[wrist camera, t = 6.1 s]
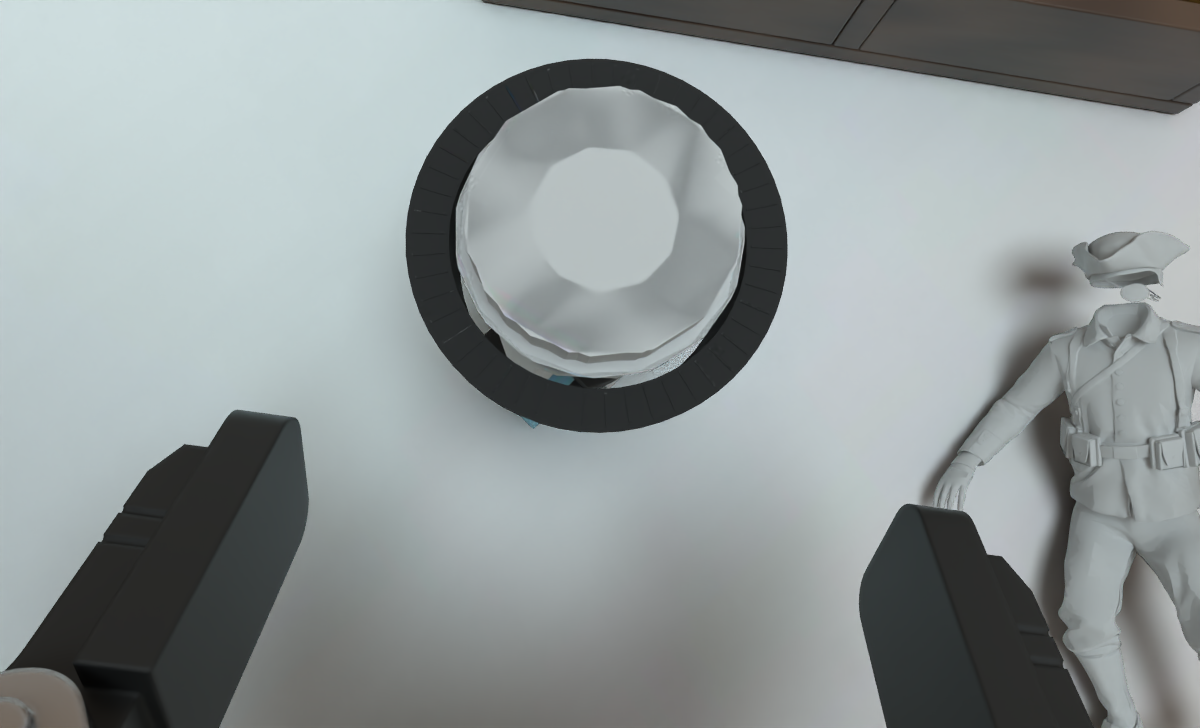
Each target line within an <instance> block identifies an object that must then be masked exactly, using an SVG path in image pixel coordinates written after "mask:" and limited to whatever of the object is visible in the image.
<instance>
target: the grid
mask: <svg viewBox="0 0 1200 728" xmlns="http://www.w3.org/2000/svg"><path fill="white" fill-rule="evenodd" d="M483 1H485V2H491V3H497V4H503V5H509V6H516V7H522V8H528V9H534V10H540V11H546V12H552V13H559V14H565V15H571V16H577V17H583V18H589V19H595V20H602V21H608V22H614V23H620V24H626V25H632V26H638V27H645V28H651V29H657V30H663V31H669V32H675V33H681V34H688V35H694V36H700V37H706V38H712V39H718V40H724V41H731V42H737V43H743V44H749V45H755V46H761V47H767V48H774V49H780V50H786V51H792V52H798V53H804V54H810V55H817V56H823V57H829V58H835V59H841V60H847V61H853V62H860V63H866V64H872V65H878V66H884V67H890V68H897V69H903V70H909V71H915V72H921V73H927V74H933V75H940V76H946V77H952V78H958V79H964V80H970V81H976V82H983V83H989V84H995V85H1001V86H1007V87H1013V88H1019V89H1026V90H1032V91H1038V92H1044V93H1050V94H1056V95H1062V96H1069V97H1075V98H1081V99H1087V100H1093V101H1099V102H1105V103H1112V104H1118V105H1124V106H1130V107H1136V108H1142V109H1148V110H1155V111H1161V112H1167V113H1173V114H1177V113H1180V112H1181V111H1183V110H1185V109H1187V108H1189V107H1190V106H1192V105H1193V104H1194V103H1197V102H1199V101H1200V0H483Z"/></svg>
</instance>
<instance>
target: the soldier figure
mask: <svg viewBox="0 0 1200 728" xmlns="http://www.w3.org/2000/svg"><path fill="white" fill-rule="evenodd" d="M1189 250H1190V247H1189V246H1188V245H1186V244H1184V243H1183V242H1181V241H1180V240H1179V239H1177V238H1176V237H1175V236H1172V235H1170V234H1167V233H1163V232H1157V231H1150V232H1145V233H1142V234H1141V233H1135V232H1116V233H1111V234H1108V235H1105V236H1103V237H1100V238H1098V239H1096V240H1095V241H1093V242H1092V243H1090V245H1089V246H1088V243H1087V242H1083V243H1080V244H1078V245H1076V246H1075V247H1074V248H1073V249H1072V254H1073V256H1074V258H1075V261H1074V262H1073V265H1074V266H1077V267H1079V268H1080V269H1081V270H1082V271H1084V273H1085V276H1086V278H1087V279H1088V280H1090V285H1092V286H1093V287H1097V288H1122V289H1121V296H1122V298H1123V299H1125V300H1127V301H1131V302H1139V301H1142V300H1145V299H1146V298H1147V299H1150V300H1153V299H1154V300H1153V301H1156V302H1158V301H1159V300H1157V299H1155V298H1154V297H1156V298H1158V299H1161V298H1160V297H1159V296H1158V295H1156V294H1155V293H1154V292H1152V291H1151V290H1149V289H1148V288H1147V287H1146V286H1145V285H1149V284H1157V283H1160V285H1161V286H1163V284H1162V282H1163V272H1162V270H1163V269H1164V268H1165V267H1166V266H1167V265H1169V264H1170V263H1171V262H1172V261H1173V260H1174V259H1176V258H1177V257H1179V256H1181V255H1182V254H1184V253H1186V252H1187V251H1189ZM1163 287H1164V286H1163ZM1149 291H1150V292H1152V293H1153V294H1154V295H1155V296H1154V295H1152V294H1150V293H1149ZM1149 294H1150V296H1152V297H1151V298H1152V299H1151V298H1148V297H1149ZM1195 389H1197V390H1199V391H1200V326H1195V325H1190V324H1186V323H1183V322H1180V321H1167V320H1166V319H1164V318H1161V317H1158V316H1157V314H1156V312H1155V311H1154V310H1153V308H1152V307H1151V306H1150V305H1149V304H1147V303H1127V304H1117V305H1103V306H1102V307H1100V308H1099V309H1097V310H1096V312H1095V313H1094V316H1093V319H1092V320H1091V322H1090V324H1089V325H1087V326H1084V327H1081V328H1077V327H1075V328H1073V329H1070V330H1068V331H1066V332H1064V333H1060V334H1056V335H1053V336H1052V337H1051V338H1050V339H1049V342H1048V344H1047V345H1046V346H1044V347H1043V349H1042V350H1041V352H1040V353H1039V354H1038V356H1037V357H1036V358H1035V360H1033V361H1032V363H1031V366H1030V367H1029V368H1028V369H1027V370H1026V371H1025V373H1024V374H1022V375H1021V376H1020V377H1019V378H1018V379H1017V381H1016V383H1015V385H1014V386H1013V387H1012V388H1011V389H1010V390H1009V391H1008V392H1007V393H1006V394H1005V395H1004V396H1003V397H1002V398H1001V399H999V400H997V401H996V402H995V403H994V405H993V407H992V408H991V409H990V411H989V412H988V414H987V415H986V416H985V417H984V418H983V419H982V420H981V421H980V423H979V424H978V425H977V426H976V427H975V429H974V430H973V432H972V433H971V435H970V436H969V437H968V438H967V439H966V441H965V442H964V444H963V445H962V447H961V448H960V449H959V450H958V452H957V455H958V456H957V457H956V458H955V459H954V460H953V461H952V463H951V466H950V467H949V468H948V469H947V471H946V472H945V473H944V474H943V475H942V477H941V479H940V480H939V483H938V485H937V487H936V491H935V493H934V498H933V507H936V508H937V507H938V503H939V508H943V509H944V507H945V501H946V498H948V497H949V498H948V502H947V509H950V510H952V509H953V505H954V501H955V497H956V494H957V492H958V490H959V489H960V490H959V496H958V510H959V511H962V510H963V506H964V501H965V495H966V491H967V488H968V485H969V483H970V481H971V479H972V477H973V474H974V472H975V469H976V466H981V465H985V464H986V463H987V462H989V461H990V460H991V459H992V458H993V456H994V455H996V454H997V453H998V452H999V451H1000V450H1001V449H1002V448H1003V447H1004V446H1005V444H1007V443H1009V442H1010V441H1011V440H1012V439H1013V438H1015V437H1017V436H1018V435H1019V434H1020V433H1021V432H1022V431H1023V430H1024V429H1025V427H1026V426H1027V425H1028V424H1029V423H1030V422H1031V421H1032V420H1033V419H1034V418H1035V416H1036V415H1037V414H1038V413H1039V412H1040V411H1041V410H1042V409H1043V408H1045V407H1046V406H1048V405H1050V404H1051V403H1052V402H1053V401H1054V400H1055V399H1056V398H1058V397H1059V396H1060V395H1061V394H1062V392H1063V391H1064V390H1065V392H1066V395H1067V399H1068V403H1069V410H1070V413H1071V414H1072V415H1071V416H1070V418H1066V417H1062V418H1061V431H1060V447H1061V449H1062V451H1063V453H1064V455H1065V457H1066V458H1070V459H1069V462H1070V464H1072V467H1073V470H1074V473H1075V475H1074V476H1073V478H1072V479H1071V484H1070V494H1071V497H1072V498H1073V499H1075V500H1076V504H1075V506H1074V509H1073V513H1072V517H1071V523H1070V531H1069V540H1068V548H1067V553H1066V557H1065V561H1064V570H1065V594H1064V600H1063V604H1062V606H1061V608H1060V609H1059V611H1058V615H1059V617H1060V618H1061V620H1062V621H1063V622H1064V623H1065V624H1066V625H1067V627H1068V629H1067V631H1066V632H1065V634H1064V635H1063V642H1064V644H1065V645H1066V647H1067V649H1069V650H1070V651H1072V652H1073V653H1074V654H1075V655H1076V656H1077V658H1078V659H1079V661H1080V662H1081V664H1082V666H1083V667H1084V669H1085V670H1086V672H1087V674H1088V676H1089V678H1090V680H1091V682H1092V684H1093V686H1094V688H1095V690H1096V693H1097V696H1098V698H1099V700H1100V702H1101V703H1102V705H1103V706H1104V707H1105V708H1106V709H1107V712H1108V716H1107V717H1106V718H1105V719H1104V720H1103V723H1102V726H1101V728H1143V724H1142V721H1141V719H1140V716H1139V713H1138V712H1137V711H1136V708H1135V705H1134V702H1133V699H1132V697H1131V695H1130V693H1129V690H1128V686H1127V680H1126V676H1125V671H1124V664H1123V659H1122V654H1121V651H1120V646H1121V641H1120V639H1119V634H1120V633H1121V630H1120V628H1119V627H1118V626H1117V625H1116V623H1115V616H1116V615H1117V614H1118V613H1119V612H1120V610H1121V607H1122V598H1123V584H1124V581H1125V579H1126V577H1127V575H1128V572H1129V570H1130V567H1131V565H1132V563H1133V560H1134V558H1135V556H1136V554H1137V552H1138V554H1139V555H1140V556H1141V557H1142V558H1143V559H1144V560H1145V561H1146V563H1147V564H1148V565H1149V566H1150V567H1151V569H1152V570H1153V571H1154V572H1155V573H1156V574H1157V576H1158V578H1159V580H1160V581H1161V583H1162V585H1163V586H1164V588H1165V590H1166V591H1167V593H1168V594H1169V596H1170V598H1171V600H1172V601H1173V603H1174V605H1175V607H1176V610H1177V616H1178V619H1179V622H1180V624H1181V627H1182V631H1183V634H1184V636H1185V638H1186V640H1187V642H1188V644H1189V645H1190V646H1191V647H1192V649H1193V650H1195V651H1196V652H1197V653H1198V659H1199V661H1200V515H1199V513H1198V511H1197V509H1199V508H1200V477H1199V467H1198V466H1200V421H1195V422H1193V423H1192V422H1191V407H1192V403H1193V399H1194V393H1195ZM940 495H941V496H940ZM939 498H940V502H939Z"/></svg>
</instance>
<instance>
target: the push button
mask: <svg viewBox="0 0 1200 728" xmlns="http://www.w3.org/2000/svg"><path fill="white" fill-rule="evenodd" d="M406 259H407V267H408V275H409V279H410V283H411V287H412V291H413V295H414V298H415V301H416V303H417V306H418V309H419V312H420V314H421V316H422V318H423V321H424V323H425V325H426V327H427V329H428V331H429V333H430V334H431V336H432V337H433V339H434V341H435V342H436V344H437V345H438V347H439V348H440V350H441V351H442V352H443V354H444V355H445V356H446V358H447V359H448V360H449V361H450V363H451V364H452V365H453V366H454V367H455V368H456V369H457V370H458V371H459V372H460V373H461V374H462V375H463V376H464V377H465V379H466V380H467V381H468V382H469V383H471V384H472V385H473V386H474V387H475V388H477V389H478V390H479V391H480V392H482V393H483V394H484V395H485V396H487V397H488V398H490V399H491V400H493V401H494V402H496V403H497V404H499V405H500V406H502V407H504V408H506V409H508V410H510V411H512V412H514V413H516V414H517V415H519V416H521V417H522V418H523V419H524V420H525V421H526V422H527V423H528V424H529V425H530V426H531V427H532V428H533V429H534V428H535V427H536V426H537V425H538V424H539V423H540V424H544V425H547V426H551V427H555V428H559V429H565V430H571V431H578V432H595V433H604V432H619V431H626V430H632V429H638V428H642V427H646V426H649V425H653V424H656V423H660V422H663V421H665V420H668V419H670V418H673V417H675V416H677V415H680V414H682V413H684V412H686V411H688V410H690V409H692V408H693V407H695V406H697V405H699V404H701V403H702V402H704V401H705V400H707V399H708V398H709V397H711V396H712V395H714V394H715V393H717V392H718V391H719V390H720V389H721V388H723V387H724V386H725V385H726V384H727V383H728V382H729V381H731V380H732V379H733V378H734V377H735V376H736V374H737V373H738V372H739V371H740V370H741V369H742V368H743V367H744V366H745V365H746V364H747V362H748V361H749V359H750V358H751V357H752V355H753V354H754V353H755V351H756V350H757V349H758V347H759V345H760V344H761V342H762V340H763V338H764V337H765V335H766V333H767V332H768V330H769V327H770V325H771V323H772V321H773V318H774V316H775V314H776V311H777V308H778V305H779V302H780V298H781V295H782V291H783V286H784V281H785V276H786V266H787V231H786V223H785V216H784V211H783V207H782V203H781V198H780V195H779V192H778V190H777V187H776V184H775V181H774V178H773V176H772V174H771V172H770V170H769V168H768V166H767V163H766V161H765V160H764V158H763V156H762V155H761V153H760V151H759V150H758V148H757V146H756V145H755V143H754V142H753V141H752V139H751V138H750V137H749V135H748V134H747V133H746V131H745V130H744V129H743V128H742V127H741V126H740V125H739V123H738V122H737V121H736V120H735V119H734V118H733V117H732V116H731V115H730V114H729V113H728V112H727V111H726V110H725V109H723V108H722V107H721V106H720V105H719V104H718V103H717V102H715V101H714V100H713V99H711V98H710V97H708V96H707V95H706V94H704V93H703V92H701V91H700V90H698V89H697V88H695V87H693V86H692V85H690V84H688V83H686V82H685V81H683V80H681V79H678V78H676V77H674V76H672V75H670V74H667V73H665V72H662V71H659V70H656V69H653V68H650V67H647V66H644V65H639V64H635V63H630V62H625V61H617V60H609V59H579V60H567V61H562V62H556V63H551V64H546V65H543V66H540V67H536V68H533V69H529V70H527V71H524V72H522V73H520V74H517V75H515V76H512V77H510V78H508V79H506V80H504V81H503V82H501V83H499V84H497V85H495V86H493V87H492V88H490V89H489V90H487V91H486V92H485V93H483V94H482V95H480V96H479V97H477V98H476V99H475V100H474V101H473V102H471V103H470V104H469V105H468V106H467V107H465V108H464V109H463V110H462V111H461V112H460V113H459V114H458V115H457V116H456V117H455V118H454V119H453V121H452V122H451V123H450V124H449V125H448V126H447V127H446V129H445V130H444V131H443V133H442V134H441V135H440V137H439V138H438V139H437V141H436V142H435V144H434V146H433V147H432V149H431V151H430V152H429V154H428V156H427V157H426V159H425V162H424V164H423V166H422V168H421V170H420V172H419V175H418V177H417V180H416V183H415V186H414V189H413V192H412V196H411V201H410V205H409V210H408V216H407V226H406ZM460 274H461V276H462V278H463V280H464V282H465V285H466V287H467V289H468V291H469V293H470V296H471V298H472V300H473V302H474V305H475V307H476V309H477V311H478V312H479V314H480V315H481V317H482V318H483V320H484V321H485V322H486V324H488V325H489V326H490V327H491V329H490V330H489V331H488V332H487V333H486V334H485V335H484V334H483V333H482V332H481V331H480V329H479V328H478V327H477V326H476V324H475V323H474V321H473V320H472V318H471V316H470V315H469V312H468V309H467V306H466V303H465V300H464V296H463V291H462V285H461V276H460ZM702 338H704V339H703V340H702V342H701V343H700V344H699V346H698V347H697V348H696V350H695V351H694V352H693V353H692V354H691V355H690V356H689V357H688V358H687V359H686V361H685V362H684V363H683V364H681V365H680V366H679V367H677V368H676V369H674V370H673V371H671V372H669V373H666V374H664V375H662V376H660V377H658V378H656V379H653V380H649V381H646V382H643V383H640V384H636V385H631V386H626V387H621V388H611V387H612V386H613V385H614V384H615V383H616V382H617V381H618V380H619V379H620V378H621V377H622V376H623V375H628V374H638V373H643V372H646V371H649V370H652V369H655V368H657V367H659V366H661V365H662V364H664V363H666V362H667V361H669V360H671V359H672V358H674V357H676V356H678V355H679V354H681V353H683V352H684V351H686V350H688V349H689V348H691V347H693V346H694V345H695V344H697V343H698V342H699V341H700V340H701V339H702ZM603 386H606V388H605V389H597V388H601V387H603Z"/></svg>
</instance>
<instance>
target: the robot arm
mask: <svg viewBox="0 0 1200 728" xmlns="http://www.w3.org/2000/svg"><path fill="white" fill-rule="evenodd" d="M308 505H309V498H308V488H307V479H306V471H305V462H304V454H303V445H302V437H301V429H300V424H299V422H298V420H297V419H296V418H294V417H287V416H279V415H272V414H265V413H257V412H250V411H243V410H235V411H233V412H231V414H230V415H229V416H228V417H227V418H226V420H225V421H224V423H223V424H222V426H221V427H220V429H219V431H218V432H217V434H216V435H215V437H214V439H213V440H212V442H211V443H210V445H209V446H208V447H201V446H194V445H186V444H184V445H183V446H182V447H180V448H179V449H177V450H176V451H175V452H173V453H172V454H171V455H169V456H168V457H167V458H165V459H164V460H162V461H161V462H160V463H158V464H157V465H156V466H154V467H153V468H151V469H150V470H149V471H147V473H146V474H145V476H144V477H143V478H142V480H141V481H140V483H139V484H138V486H137V487H136V488H135V490H134V491H133V493H132V494H131V496H130V497H129V499H128V500H127V501H126V503H125V504H124V506H123V507H124V508H123V511H122V513H118V514H117V516H116V517H115V519H114V520H113V521H112V523H111V524H110V526H109V527H108V529H107V530H106V532H105V533H104V538H103V540H102V542H98V543H97V544H96V546H95V547H94V549H93V550H92V552H91V553H90V555H89V556H88V557H87V559H86V560H85V562H84V563H83V565H82V566H81V567H80V569H79V570H78V572H77V573H76V575H75V576H74V578H73V579H72V580H71V582H70V583H69V585H68V586H67V588H66V589H65V590H64V592H63V593H62V595H61V596H60V598H59V599H58V600H57V602H56V603H55V605H54V606H53V608H52V609H51V611H50V612H49V613H48V615H47V616H46V618H45V619H44V621H43V622H42V623H41V625H40V626H39V628H38V629H37V631H36V632H35V634H34V635H33V636H32V638H31V639H30V641H29V642H28V644H27V645H26V646H25V648H24V649H23V651H22V652H21V653H20V654H19V656H18V657H17V658H16V659H15V661H14V662H13V663H12V664H11V665H10V666H9V667H8V668H7V669H6V670H5V671H3V672H0V728H219V727H220V724H221V722H222V720H223V718H224V715H225V713H226V711H227V708H228V706H229V704H230V702H231V699H232V697H233V695H234V693H235V690H236V688H237V686H238V683H239V681H240V679H241V677H242V674H243V672H244V670H245V668H246V665H247V663H248V661H249V659H250V656H251V654H252V652H253V649H254V647H255V645H256V643H257V640H258V638H259V636H260V634H261V631H262V629H263V627H264V624H265V622H266V620H267V618H268V615H269V613H270V611H271V609H272V606H273V604H274V602H275V599H276V597H277V595H278V593H279V590H280V588H281V586H282V584H283V581H284V579H285V577H286V575H287V572H288V570H289V568H290V565H291V563H292V561H293V559H294V556H295V554H296V552H297V550H298V547H299V545H300V542H301V540H302V537H303V533H304V530H305V526H306V521H307V515H308ZM859 611H860V618H861V623H862V627H863V631H864V636H865V640H866V644H867V648H868V652H869V656H870V660H871V664H872V668H873V673H874V677H875V681H876V685H877V689H878V693H879V697H880V701H881V706H882V710H883V714H884V718H885V722H886V726H887V728H1094V727H1093V725H1092V722H1091V720H1090V718H1089V716H1088V714H1087V711H1086V709H1085V707H1084V705H1083V703H1082V700H1081V698H1080V696H1079V694H1078V692H1077V689H1076V687H1075V685H1074V683H1073V681H1072V678H1071V676H1070V674H1069V672H1068V670H1067V669H1064V668H1063V659H1062V656H1061V654H1060V652H1059V650H1058V648H1057V645H1056V643H1055V641H1054V639H1053V637H1049V634H1048V631H1049V628H1048V626H1047V623H1046V621H1045V619H1044V617H1043V615H1042V612H1041V610H1040V608H1039V606H1038V604H1037V601H1036V599H1035V597H1034V595H1033V593H1032V591H1031V590H1030V589H1029V587H1028V586H1027V585H1026V584H1025V583H1024V582H1023V580H1022V579H1021V578H1020V577H1019V576H1018V575H1017V574H1016V572H1015V571H1014V570H1013V569H1012V568H1011V567H1010V565H1009V564H1008V563H1007V562H1006V561H1005V560H1004V558H1003V557H1002V556H994V555H987V553H986V551H985V548H984V546H983V544H982V541H981V539H980V536H979V534H978V532H977V529H976V527H975V525H974V523H973V521H972V519H971V518H970V516H969V515H968V514H967V513H965V512H963V511H958V510H950V509H943V508H936V507H928V506H921V505H914V504H905V505H904V506H902V507H901V508H900V509H899V511H898V512H897V514H896V516H895V518H894V519H893V521H892V523H891V525H890V527H889V529H888V530H887V532H886V534H885V536H884V538H883V540H882V541H881V543H880V545H879V547H878V549H877V551H876V552H875V554H874V556H873V558H872V560H871V562H870V563H869V565H868V567H867V569H866V571H865V573H864V575H863V578H862V582H861V587H860V594H859Z"/></svg>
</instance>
